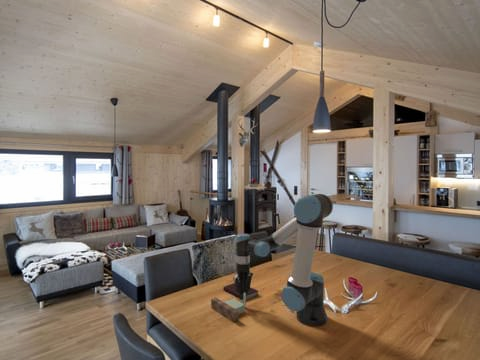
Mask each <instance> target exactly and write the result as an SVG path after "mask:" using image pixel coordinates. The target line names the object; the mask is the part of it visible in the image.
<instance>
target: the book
mask: <svg viewBox="0 0 480 360" xmlns="http://www.w3.org/2000/svg"><path fill="white" fill-rule="evenodd" d="M222 290H223V291H224V292H226V293H228V294H230V295H232V296H233V297H235V298H238V299H239V300H241V299H240V294H239V293H237V291H236V286H235V282H234V283H231V284H228V285H224V286H223V289H222ZM247 292H248V293H247V298H246V300H249V299H252V298H254V297H255V298H256V297H257V296H258V295H259V290H257V289H256V288H254V287H251V286H250V290H249V291H247Z"/></svg>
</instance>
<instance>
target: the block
mask: <svg viewBox="0 0 480 360" xmlns="http://www.w3.org/2000/svg"><path fill="white" fill-rule="evenodd" d="M223 302H224V303H226V304H228V305H230V306H231V307H233V308H235V309H236V310H238V311H239V315H241V314H242V313H245V312H246V305H245V304H243V303H241V301H239V300H237V299H236V298H230V299H228V300H225V301H223Z"/></svg>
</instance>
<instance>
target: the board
mask: <svg viewBox="0 0 480 360" xmlns="http://www.w3.org/2000/svg"><path fill="white" fill-rule="evenodd" d="M210 302H211V303H210V305H211V309H212V310H214V311H215V312H217V313H218V314H220V315H222V316H223V317H225V318H226V319H227V320H229V321H231V322H232V323H236V322H239V321H240V319H239V315H240V314H239V311H238V310H236V309H235V308H233V307H231V306H230V305H228V304H226V303H224V302H225V301H222V300H221V299H219V298H218V297H212V298H211V300H210Z"/></svg>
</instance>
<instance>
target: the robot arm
mask: <svg viewBox="0 0 480 360" xmlns="http://www.w3.org/2000/svg"><path fill="white" fill-rule="evenodd" d="M333 209H334V204H333V201H332V199H331V198H330V196H328V195H326V194H323V193H318V194H316V193H315V194H311V195H310V194H308V195H307V194H306V195H304V196H302V197H300V198H298V199H297V200H296V201H295V203H294V205H293V214H294V217H293V218H291V220H289V221H287V223H285V224H284V225H282V226H281V227H280V228H278V229H277V230H276V231H275V232H273V233H271V234H270V235H269V236H268V237H264V238H261V239H257V240H256V239H251V236H250V234H248V233H238V234H237V235H236V239H235V246H236V250H235V251H236V253H235V256H236V257H235V259H236V260H235V261H236V263H235V265H236V267H235V268H236V275H235V276H233V277H232V279H233V281H234V283H235V286H236V291H237V293H239V294H240V299H239V300H240V302H241V303H243V304H245V306H247V299H246V298H247V293H248V292H247V291H249V290H250V287H251V283H252V278H253V275H254V273H253V272H251V271H250V270H251V255H254V256H257V257H267V256H268V255H269V254H270V252H272V251H275V250H277V249H280V248H281V247H282V245H284V243H287V241H289V240H290V239H292V238H293V237H295V236H296V235H297V237H296V243H295V251H294V257H293V264H292V269H291V274H290V275H288V276H287V281H286V286H284V287H283V289H282V290H281V292H280V296H281V300H282V302H283V304H284V305H285V306H286V308H288V310H290V311H293V312H296V313H295V315H296V319H297V321H298V322H299V323H301V324H304V325H305V326H310V327H311V326H312V327H320V326H323V325H326V323H327V322H328V314H327V311H326V308H325V305H324V298H325V297H324V294H325V293H324V292H325V291H324V290H325V282H324V281H325V279H324V276H323V275H322V274H321V273H319V272H313V271H312V270H313V269H312V268H313V262H314V255H315V250H316V245H317V237H318V233H319V232H318V231H319V230H320V229H321V228H322V227H323V222H324V219H325V218H328V217H329V216H330V215H331V213H332V212H333Z"/></svg>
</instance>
